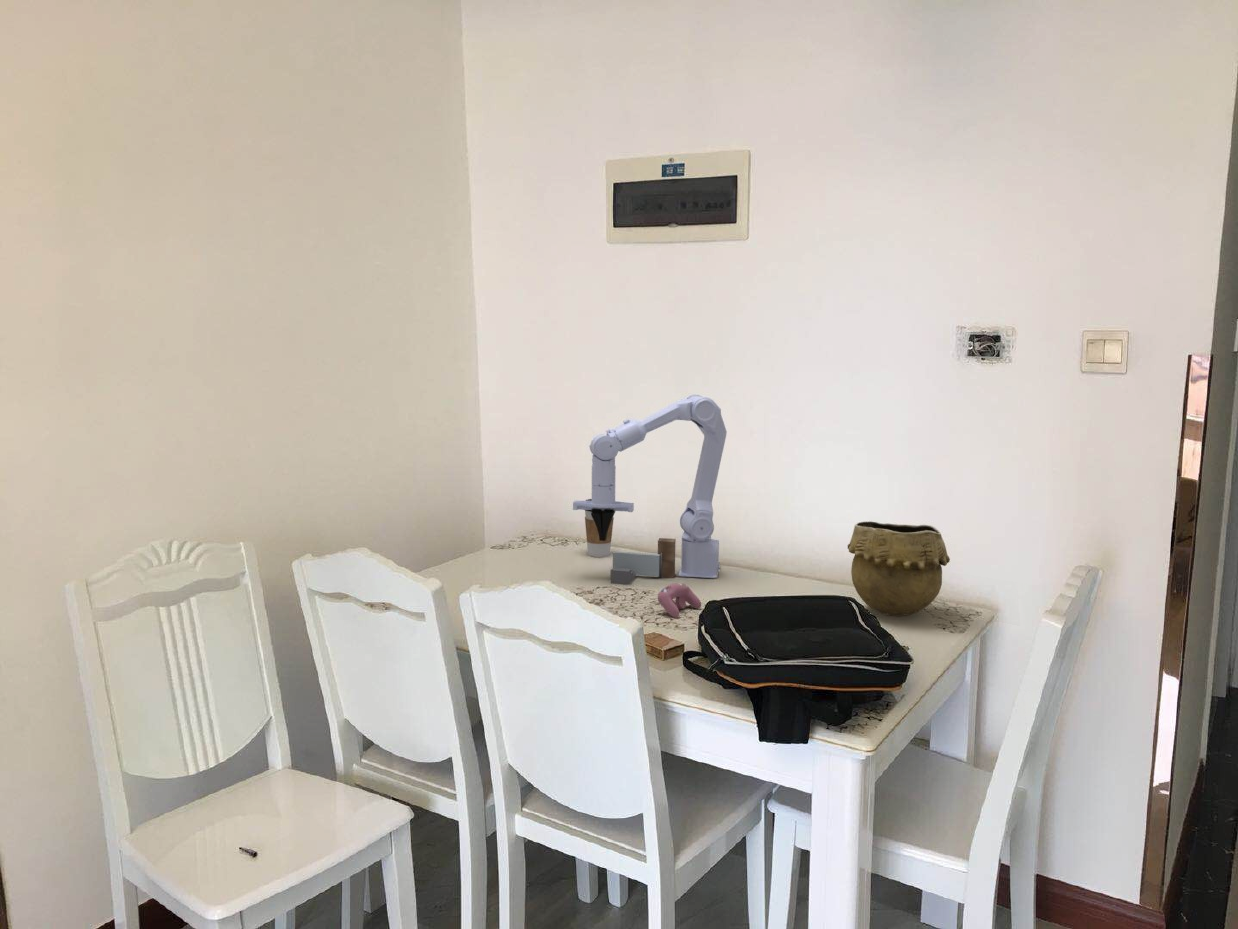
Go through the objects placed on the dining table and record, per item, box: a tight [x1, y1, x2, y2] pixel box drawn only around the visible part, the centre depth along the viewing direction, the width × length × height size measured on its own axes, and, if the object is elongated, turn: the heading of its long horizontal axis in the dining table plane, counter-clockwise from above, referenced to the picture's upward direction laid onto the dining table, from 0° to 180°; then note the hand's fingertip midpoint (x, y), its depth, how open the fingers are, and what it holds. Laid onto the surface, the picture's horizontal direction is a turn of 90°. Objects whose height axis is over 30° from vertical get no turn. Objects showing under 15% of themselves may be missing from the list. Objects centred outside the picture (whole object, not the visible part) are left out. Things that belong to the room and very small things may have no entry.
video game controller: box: [657, 582, 702, 619], centre depth 208 cm, size 10×5×7 cm, turn 142°
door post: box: [657, 537, 677, 579], centre depth 236 cm, size 4×5×9 cm
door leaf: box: [612, 550, 660, 578], centre depth 236 cm, size 12×2×5 cm, turn 76°
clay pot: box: [847, 520, 951, 617], centre depth 207 cm, size 21×21×20 cm
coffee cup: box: [584, 498, 615, 558], centre depth 257 cm, size 8×8×15 cm
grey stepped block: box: [610, 567, 637, 586], centre depth 232 cm, size 4×7×4 cm, turn 166°
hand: (603, 539), depth 233 cm, fingers closed
